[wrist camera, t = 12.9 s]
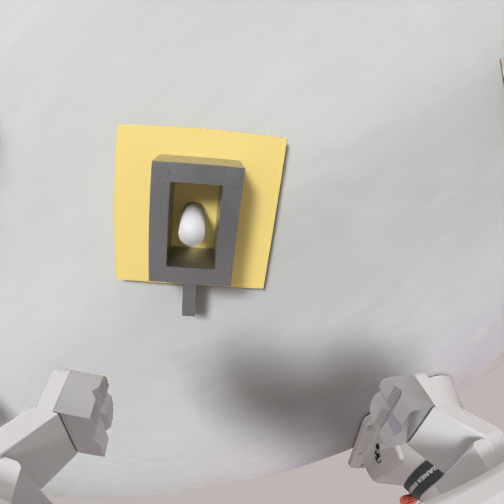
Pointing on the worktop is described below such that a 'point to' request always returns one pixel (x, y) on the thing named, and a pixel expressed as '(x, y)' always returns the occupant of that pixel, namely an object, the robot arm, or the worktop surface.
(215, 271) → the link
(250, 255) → the keeper
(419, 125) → the worktop surface
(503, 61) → the condiment
